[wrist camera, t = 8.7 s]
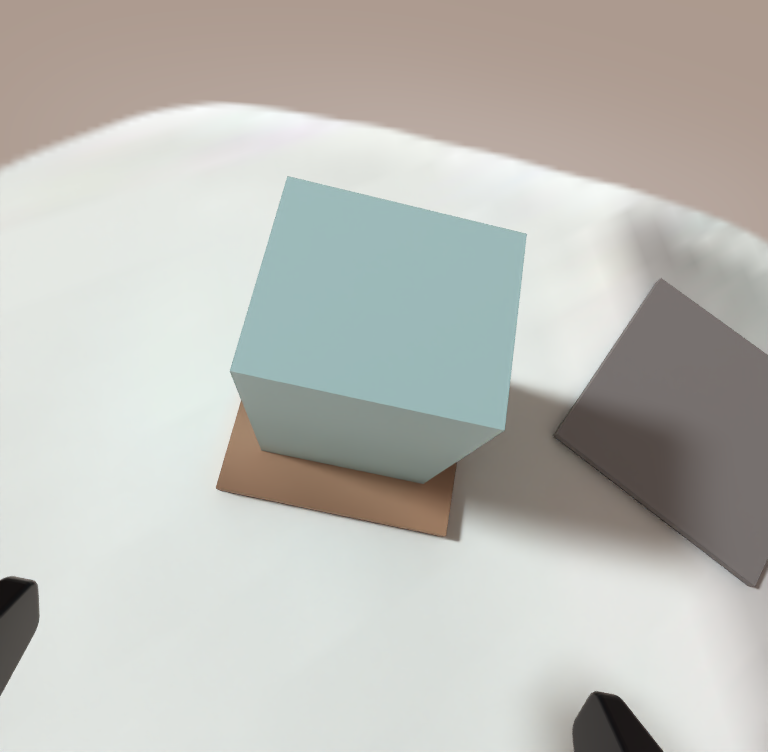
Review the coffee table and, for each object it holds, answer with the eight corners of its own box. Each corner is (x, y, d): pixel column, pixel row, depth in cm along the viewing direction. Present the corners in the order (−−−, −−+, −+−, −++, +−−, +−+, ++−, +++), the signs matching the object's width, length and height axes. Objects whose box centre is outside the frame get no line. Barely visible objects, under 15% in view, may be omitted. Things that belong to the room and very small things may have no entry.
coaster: (442, 536, 22) (445, 535, 22) (218, 489, 22) (215, 487, 21) (472, 333, 25) (476, 328, 25) (276, 287, 25) (275, 281, 24)
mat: (747, 585, 23) (755, 586, 23) (553, 435, 24) (557, 433, 24) (830, 407, 26) (837, 405, 26) (656, 282, 27) (661, 278, 27)
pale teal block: (423, 483, 22) (504, 430, 13) (261, 450, 22) (229, 370, 13) (442, 357, 24) (526, 233, 15) (294, 324, 23) (287, 176, 14)
